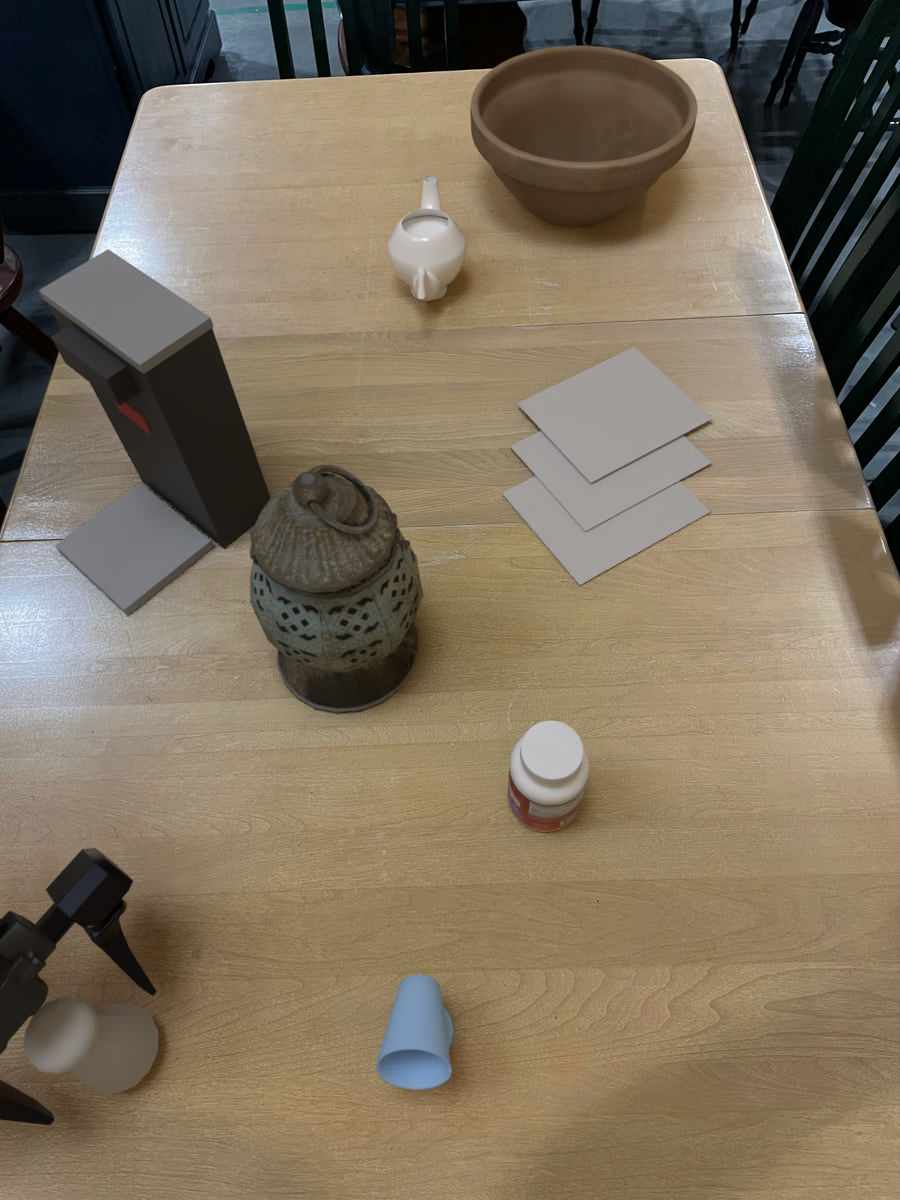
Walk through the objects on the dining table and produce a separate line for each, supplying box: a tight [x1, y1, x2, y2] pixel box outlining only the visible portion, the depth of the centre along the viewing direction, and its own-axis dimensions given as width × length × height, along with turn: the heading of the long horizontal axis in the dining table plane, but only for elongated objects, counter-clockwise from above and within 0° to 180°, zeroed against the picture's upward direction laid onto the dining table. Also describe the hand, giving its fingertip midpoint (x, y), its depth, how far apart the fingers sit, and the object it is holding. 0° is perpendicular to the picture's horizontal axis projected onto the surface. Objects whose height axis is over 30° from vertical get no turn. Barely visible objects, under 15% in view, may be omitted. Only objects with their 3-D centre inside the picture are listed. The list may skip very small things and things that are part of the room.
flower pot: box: [469, 45, 698, 227], centre depth 112 cm, size 28×28×13 cm
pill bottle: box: [507, 720, 590, 833], centre depth 68 cm, size 6×6×11 cm
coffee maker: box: [38, 248, 272, 616], centre depth 79 cm, size 19×14×25 cm
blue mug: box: [375, 974, 455, 1091], centre depth 59 cm, size 5×10×7 cm
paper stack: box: [501, 346, 714, 586], centre depth 92 cm, size 23×25×1 cm
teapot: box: [387, 174, 467, 302], centre depth 104 cm, size 10×20×9 cm, turn 177°
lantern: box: [249, 464, 424, 715], centre depth 70 cm, size 14×14×25 cm
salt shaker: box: [23, 996, 159, 1095], centre depth 58 cm, size 6×6×13 cm
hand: (104, 1053), depth 57 cm, fingers open, 9 cm apart
